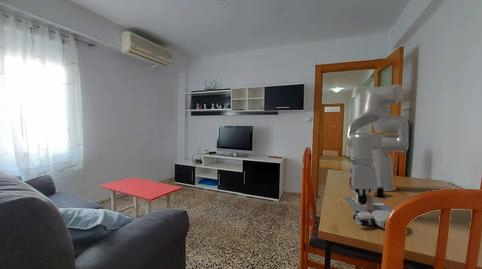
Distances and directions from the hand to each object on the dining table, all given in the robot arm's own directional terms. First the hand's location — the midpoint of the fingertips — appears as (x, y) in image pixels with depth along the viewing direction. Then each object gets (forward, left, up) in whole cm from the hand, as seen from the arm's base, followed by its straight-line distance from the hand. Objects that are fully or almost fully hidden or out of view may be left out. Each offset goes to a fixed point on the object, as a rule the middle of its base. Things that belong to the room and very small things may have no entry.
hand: (362, 203), depth 90 cm
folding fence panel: (-3, +3, -3) cm, 5 cm away
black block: (-23, +17, -4) cm, 29 cm away
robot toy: (+13, 0, -4) cm, 13 cm away
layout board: (-7, +5, -3) cm, 9 cm away
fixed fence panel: (-12, +2, -3) cm, 13 cm away
